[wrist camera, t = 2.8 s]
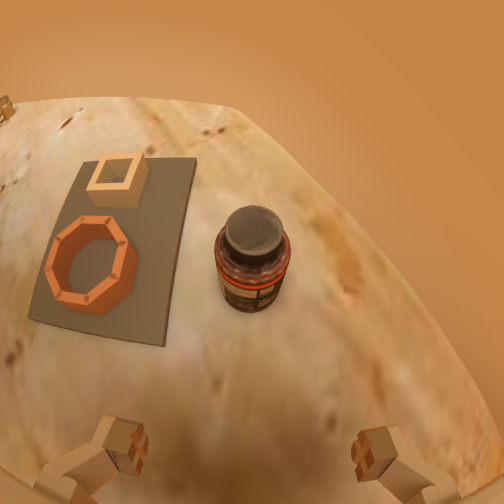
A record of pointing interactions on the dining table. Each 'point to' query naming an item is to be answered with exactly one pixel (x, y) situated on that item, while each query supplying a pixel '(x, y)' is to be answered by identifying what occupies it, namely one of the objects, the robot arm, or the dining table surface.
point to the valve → (6, 108)
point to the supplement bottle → (252, 258)
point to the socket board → (116, 249)
